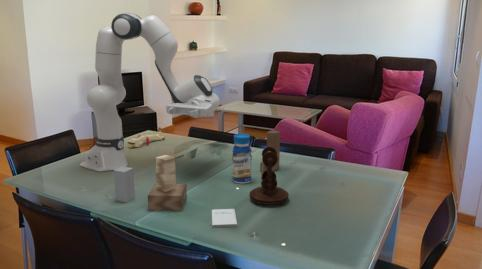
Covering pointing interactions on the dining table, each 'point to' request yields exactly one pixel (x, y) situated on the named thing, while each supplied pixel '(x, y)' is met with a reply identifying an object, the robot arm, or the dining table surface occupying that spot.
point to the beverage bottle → (241, 159)
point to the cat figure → (145, 139)
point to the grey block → (124, 184)
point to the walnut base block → (167, 198)
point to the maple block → (165, 173)
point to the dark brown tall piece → (269, 182)
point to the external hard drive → (223, 218)
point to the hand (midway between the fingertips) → (179, 113)
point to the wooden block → (274, 142)
